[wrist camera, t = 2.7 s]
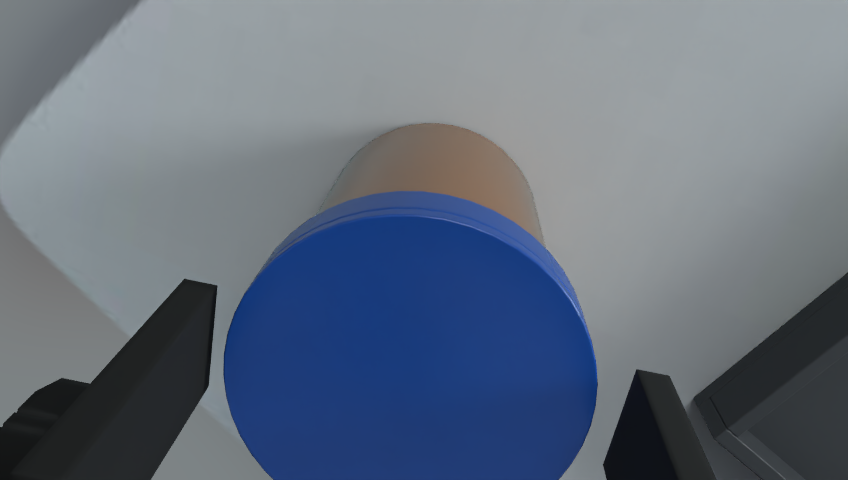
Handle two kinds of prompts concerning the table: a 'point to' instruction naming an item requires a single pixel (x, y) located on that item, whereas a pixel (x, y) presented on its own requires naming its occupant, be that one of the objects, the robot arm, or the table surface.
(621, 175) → the table surface
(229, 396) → the lid
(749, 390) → the tray
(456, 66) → the table surface
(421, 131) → the jar
